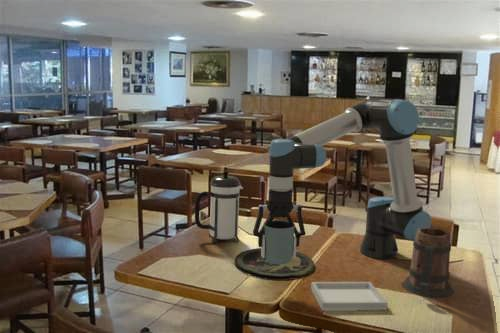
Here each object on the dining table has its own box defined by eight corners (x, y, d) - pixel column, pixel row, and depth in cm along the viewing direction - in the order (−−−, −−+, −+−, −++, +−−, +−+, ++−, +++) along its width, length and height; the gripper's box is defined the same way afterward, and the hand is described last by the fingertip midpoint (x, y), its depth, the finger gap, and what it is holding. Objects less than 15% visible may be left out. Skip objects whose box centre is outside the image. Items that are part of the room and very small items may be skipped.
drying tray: (369, 288, 167) (370, 281, 167) (386, 310, 151) (387, 302, 151) (311, 289, 165) (311, 281, 165) (322, 311, 149) (323, 303, 149)
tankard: (405, 274, 181) (410, 221, 178) (455, 284, 174) (461, 229, 171) (395, 299, 160) (400, 239, 157) (451, 310, 153) (458, 248, 150)
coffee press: (219, 231, 225) (221, 165, 220) (247, 238, 216) (250, 170, 211) (193, 240, 211) (194, 170, 206) (222, 248, 202) (224, 175, 197)
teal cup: (294, 265, 156) (296, 229, 154) (262, 264, 156) (263, 228, 154) (292, 254, 166) (293, 219, 164) (262, 253, 166) (263, 218, 164)
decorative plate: (226, 270, 175) (243, 243, 204) (225, 275, 175) (243, 248, 204) (311, 280, 169) (317, 251, 198) (311, 285, 170) (317, 256, 199)
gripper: (312, 186, 162) (309, 251, 166) (244, 185, 160) (243, 252, 164) (317, 191, 155) (314, 259, 159) (246, 191, 153) (245, 260, 156)
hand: (278, 256), depth 161 cm, fingers closed on teal cup, 9 cm apart
